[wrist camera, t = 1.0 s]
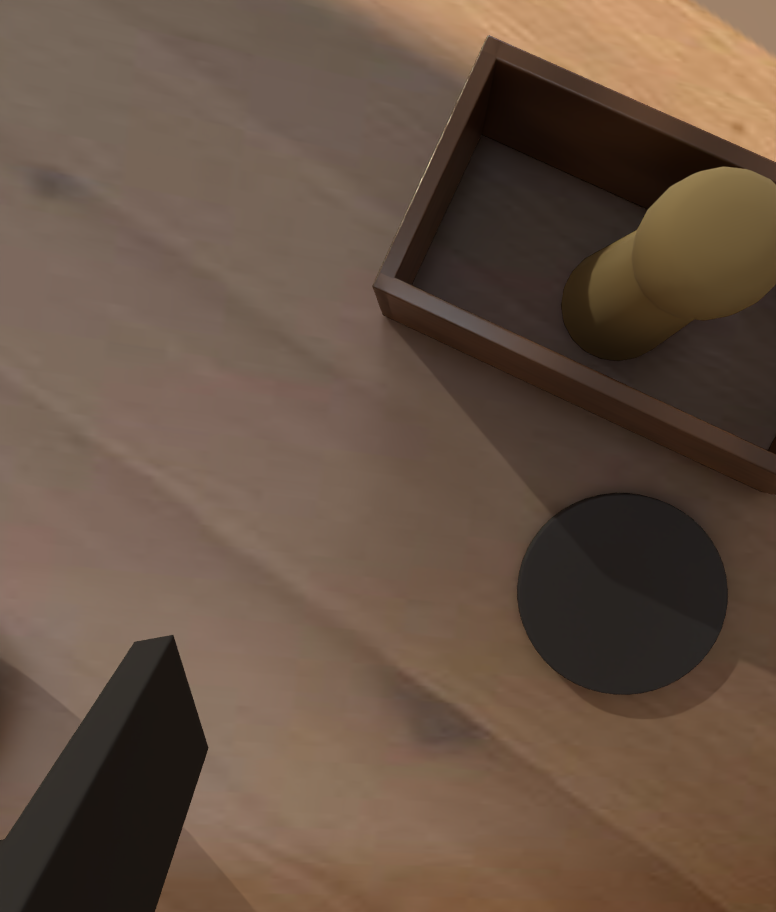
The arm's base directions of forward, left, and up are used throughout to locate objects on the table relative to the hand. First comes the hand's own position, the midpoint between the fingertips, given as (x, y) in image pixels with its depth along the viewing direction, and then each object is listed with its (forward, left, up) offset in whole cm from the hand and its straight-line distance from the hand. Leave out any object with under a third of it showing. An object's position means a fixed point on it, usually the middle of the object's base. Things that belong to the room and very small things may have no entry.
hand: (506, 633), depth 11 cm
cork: (-3, -13, -19) cm, 24 cm away
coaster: (-10, +1, -19) cm, 22 cm away
